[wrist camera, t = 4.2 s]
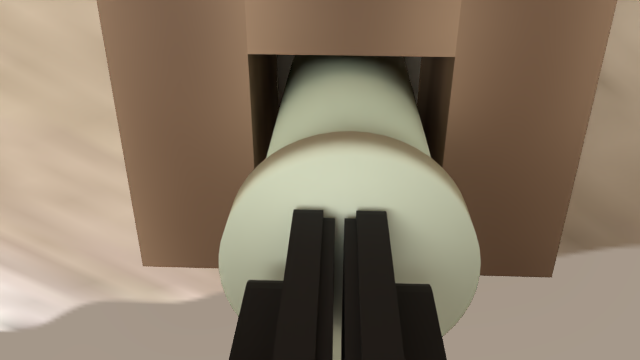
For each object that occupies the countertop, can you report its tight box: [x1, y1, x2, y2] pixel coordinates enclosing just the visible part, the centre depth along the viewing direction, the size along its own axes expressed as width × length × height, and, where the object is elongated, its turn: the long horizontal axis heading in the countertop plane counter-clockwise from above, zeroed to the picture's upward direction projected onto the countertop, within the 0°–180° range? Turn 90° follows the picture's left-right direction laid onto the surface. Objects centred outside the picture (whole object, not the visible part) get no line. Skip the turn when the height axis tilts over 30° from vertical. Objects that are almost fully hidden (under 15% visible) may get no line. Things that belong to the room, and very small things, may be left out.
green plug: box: [219, 55, 481, 360], centre depth 16 cm, size 5×5×10 cm
